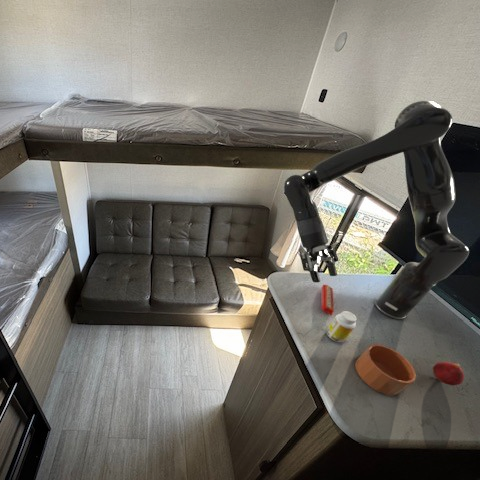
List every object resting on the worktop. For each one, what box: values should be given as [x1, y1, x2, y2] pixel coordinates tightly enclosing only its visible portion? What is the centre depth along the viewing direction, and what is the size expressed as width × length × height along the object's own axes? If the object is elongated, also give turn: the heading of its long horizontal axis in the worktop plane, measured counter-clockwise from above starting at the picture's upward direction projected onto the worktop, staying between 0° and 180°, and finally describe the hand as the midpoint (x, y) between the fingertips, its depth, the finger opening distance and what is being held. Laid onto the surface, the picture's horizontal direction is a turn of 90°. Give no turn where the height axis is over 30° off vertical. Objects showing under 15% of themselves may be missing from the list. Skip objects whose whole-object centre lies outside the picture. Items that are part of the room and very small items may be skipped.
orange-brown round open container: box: [354, 343, 417, 396], centre depth 72 cm, size 11×11×7 cm
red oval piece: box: [432, 361, 465, 386], centre depth 72 cm, size 6×6×8 cm
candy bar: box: [321, 284, 335, 316], centre depth 97 cm, size 16×4×3 cm, turn 152°
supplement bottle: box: [325, 310, 358, 343], centre depth 82 cm, size 6×6×10 cm
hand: (325, 278), depth 84 cm, fingers open, 8 cm apart
